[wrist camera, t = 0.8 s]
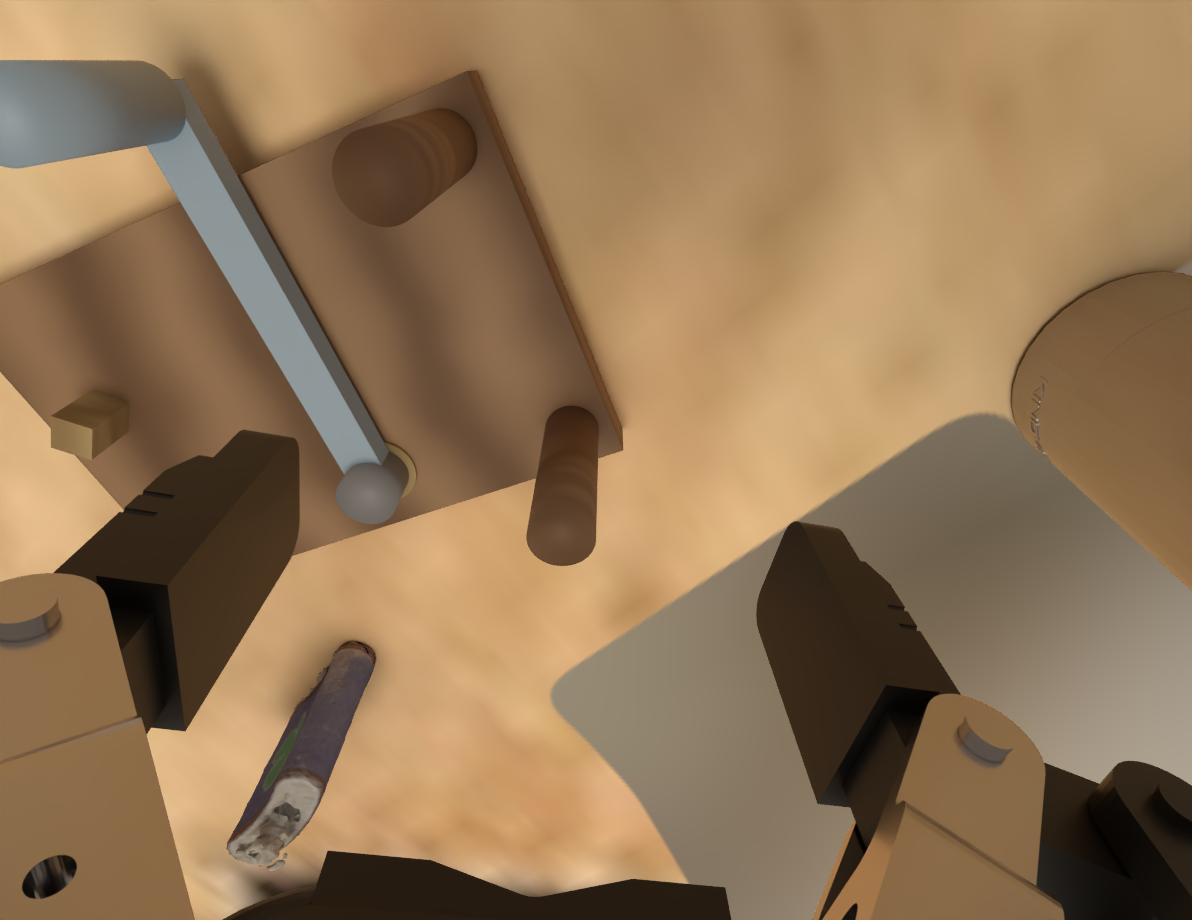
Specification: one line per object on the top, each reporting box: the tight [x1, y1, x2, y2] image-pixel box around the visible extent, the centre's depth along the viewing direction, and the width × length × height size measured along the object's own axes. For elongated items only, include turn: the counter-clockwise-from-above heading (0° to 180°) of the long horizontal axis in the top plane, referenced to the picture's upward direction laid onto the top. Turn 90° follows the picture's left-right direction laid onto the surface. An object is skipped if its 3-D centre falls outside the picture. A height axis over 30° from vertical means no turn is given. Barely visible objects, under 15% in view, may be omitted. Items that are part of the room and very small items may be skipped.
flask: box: [227, 641, 376, 871], centre depth 37 cm, size 9×3×11 cm, turn 144°
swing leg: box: [0, 60, 409, 524], centre depth 24 cm, size 18×3×8 cm, turn 18°
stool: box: [0, 71, 623, 566], centre depth 27 cm, size 24×16×10 cm, turn 111°
